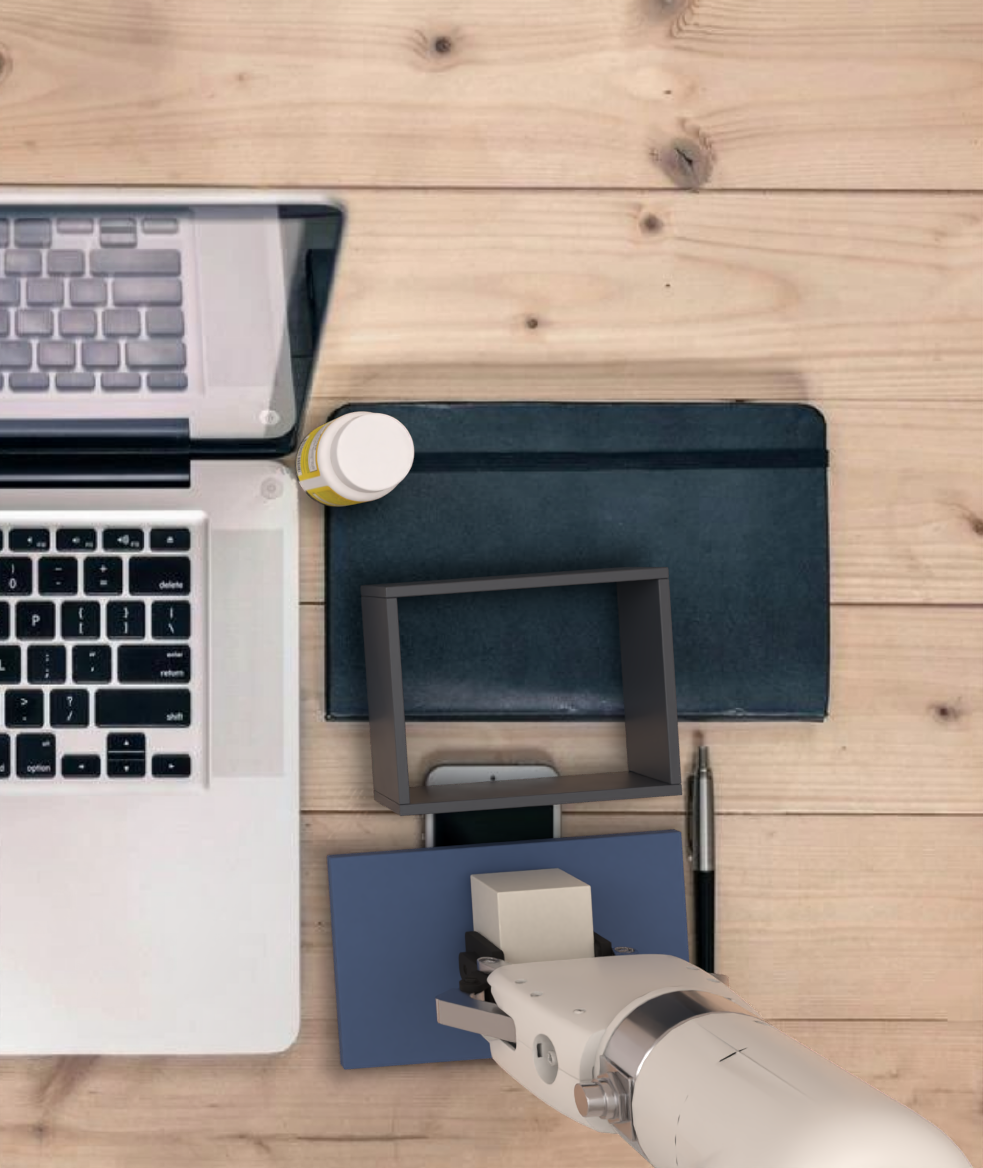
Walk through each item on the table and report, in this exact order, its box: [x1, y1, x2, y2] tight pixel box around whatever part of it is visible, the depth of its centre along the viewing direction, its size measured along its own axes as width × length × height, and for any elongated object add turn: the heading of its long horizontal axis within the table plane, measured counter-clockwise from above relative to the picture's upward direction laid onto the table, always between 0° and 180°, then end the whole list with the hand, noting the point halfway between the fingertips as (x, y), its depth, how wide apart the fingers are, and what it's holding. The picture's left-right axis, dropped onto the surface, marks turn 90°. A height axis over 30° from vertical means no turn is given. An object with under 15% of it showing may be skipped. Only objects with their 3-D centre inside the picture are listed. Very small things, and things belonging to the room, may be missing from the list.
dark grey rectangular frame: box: [359, 566, 683, 817], centre depth 73 cm, size 12×15×6 cm
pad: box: [326, 828, 690, 1071], centre depth 75 cm, size 12×20×2 cm, turn 94°
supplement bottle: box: [294, 411, 415, 508], centre depth 71 cm, size 5×5×8 cm
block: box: [471, 868, 595, 1043], centre depth 72 cm, size 9×5×4 cm, turn 4°
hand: (524, 955), depth 73 cm, fingers closed on block, 5 cm apart
